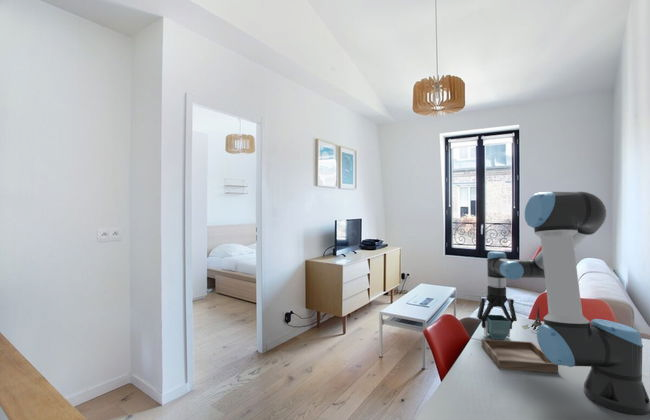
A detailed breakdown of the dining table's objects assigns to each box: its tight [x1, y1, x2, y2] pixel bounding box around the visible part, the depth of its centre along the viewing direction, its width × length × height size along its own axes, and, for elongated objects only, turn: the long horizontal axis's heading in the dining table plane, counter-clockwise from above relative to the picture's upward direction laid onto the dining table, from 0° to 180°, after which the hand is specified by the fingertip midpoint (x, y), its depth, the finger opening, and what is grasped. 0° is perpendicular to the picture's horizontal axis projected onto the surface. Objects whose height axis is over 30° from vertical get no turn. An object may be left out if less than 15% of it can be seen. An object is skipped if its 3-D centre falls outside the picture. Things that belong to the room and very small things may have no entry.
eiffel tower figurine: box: [521, 304, 543, 335], centre depth 158 cm, size 15×10×13 cm
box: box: [481, 338, 559, 374], centre depth 127 cm, size 20×20×3 cm
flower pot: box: [486, 314, 511, 340], centre depth 148 cm, size 9×9×9 cm
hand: (496, 335), depth 148 cm, fingers closed on flower pot, 9 cm apart
